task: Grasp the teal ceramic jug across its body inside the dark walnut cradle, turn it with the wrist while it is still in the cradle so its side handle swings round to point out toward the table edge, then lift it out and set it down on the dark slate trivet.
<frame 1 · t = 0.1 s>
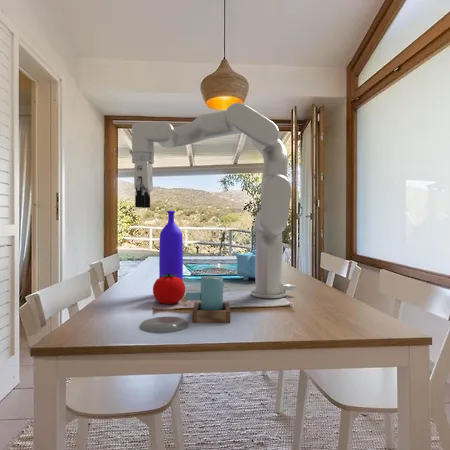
hand: (143, 207, 130), 31 cm above the table, fingers open, 9 cm apart
teapot: (249, 278, 165), on the table
bottle: (171, 295, 131), on the table
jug: (211, 317, 102), resting in cradle
tomato: (169, 304, 118), on the table
cradle: (211, 319, 102), on the table
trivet: (164, 327, 94), on the table
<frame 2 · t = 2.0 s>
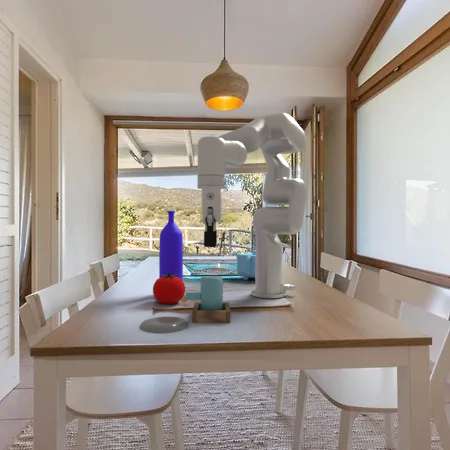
hand: (210, 245, 101), 21 cm above the table, fingers open, 9 cm apart
nothing on the table moved.
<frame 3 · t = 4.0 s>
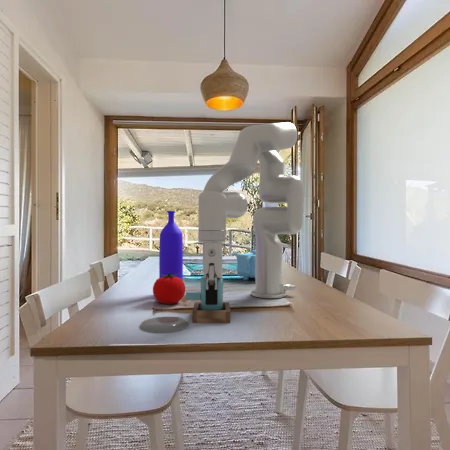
hand: (211, 300, 101), 5 cm above the table, fingers closed on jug, 6 cm apart
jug: (211, 317, 102), resting in cradle, touching gripper
everything else where it was.
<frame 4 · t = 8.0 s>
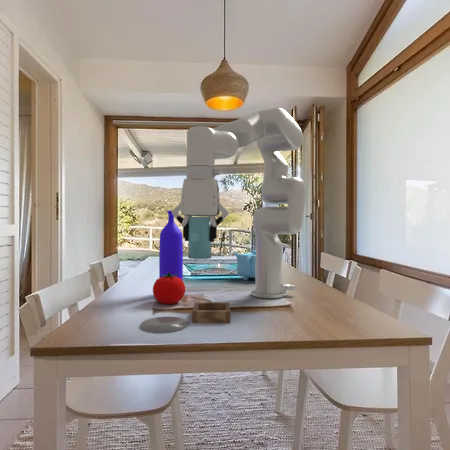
hand: (199, 240, 99), 22 cm above the table, fingers closed on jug, 6 cm apart
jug: (199, 257, 99), point 17 cm above the table, touching gripper
everything else where it was.
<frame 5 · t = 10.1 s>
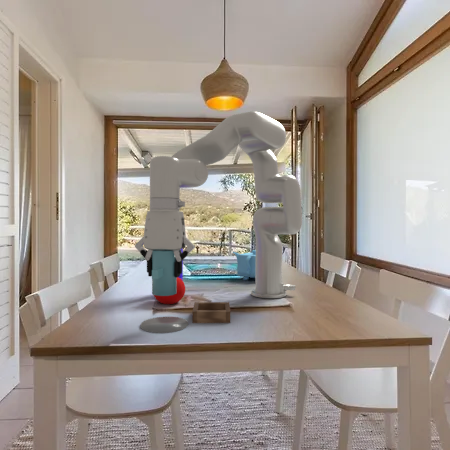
hand: (164, 275, 94), 13 cm above the table, fingers closed on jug, 6 cm apart
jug: (164, 293, 94), point 9 cm above the table, touching gripper
everything else where it was.
when the fingers open (6 cm above the table, at t = 11.9 s): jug stays where it is, resting on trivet.
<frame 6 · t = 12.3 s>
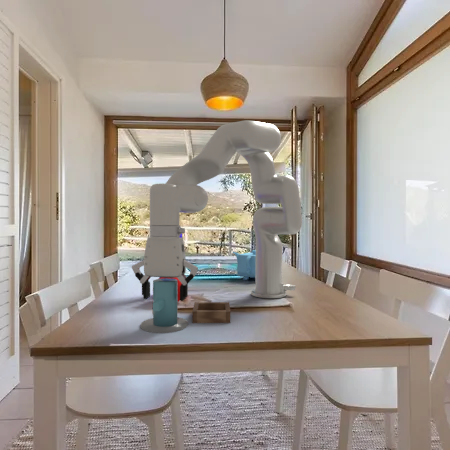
hand: (164, 298, 94), 7 cm above the table, fingers open, 9 cm apart
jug: (165, 323, 95), point 1 cm above the table, touching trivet
everything else where it was.
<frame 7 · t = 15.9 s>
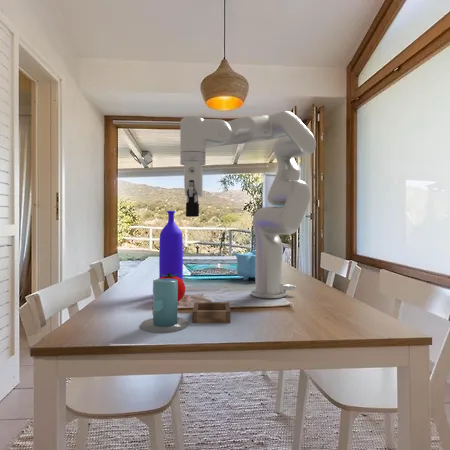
hand: (192, 216, 111), 28 cm above the table, fingers open, 9 cm apart
nothing on the table moved.
at the end: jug 0.2 cm from the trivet (horizontally); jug tilted 0°; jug point 1.0 cm above the table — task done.
